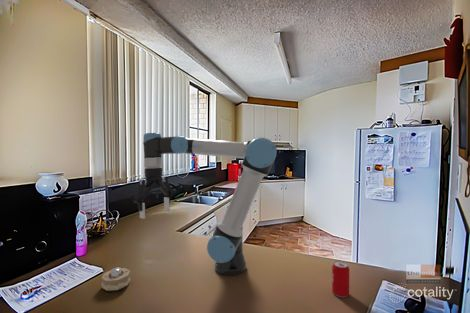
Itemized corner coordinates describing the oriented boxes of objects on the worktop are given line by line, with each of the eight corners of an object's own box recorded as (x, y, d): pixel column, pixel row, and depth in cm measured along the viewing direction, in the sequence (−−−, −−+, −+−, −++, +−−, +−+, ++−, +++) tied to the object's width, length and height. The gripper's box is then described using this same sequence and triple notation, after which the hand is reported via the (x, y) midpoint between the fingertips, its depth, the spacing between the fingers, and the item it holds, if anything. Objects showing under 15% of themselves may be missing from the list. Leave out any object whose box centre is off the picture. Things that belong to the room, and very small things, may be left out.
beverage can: (344, 289, 100) (344, 260, 99) (352, 298, 93) (352, 267, 93) (329, 289, 99) (329, 260, 99) (336, 299, 93) (336, 267, 93)
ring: (134, 281, 104) (134, 272, 104) (110, 293, 95) (110, 283, 95) (121, 275, 109) (120, 266, 109) (97, 285, 101) (97, 275, 101)
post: (130, 284, 103) (130, 268, 103) (111, 293, 97) (111, 276, 97) (120, 278, 108) (119, 263, 108) (101, 287, 101) (101, 270, 101)
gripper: (168, 165, 123) (170, 207, 123) (122, 169, 102) (125, 220, 102) (179, 165, 119) (181, 209, 119) (134, 169, 98) (136, 222, 98)
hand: (155, 214), depth 111 cm, fingers open, 13 cm apart
